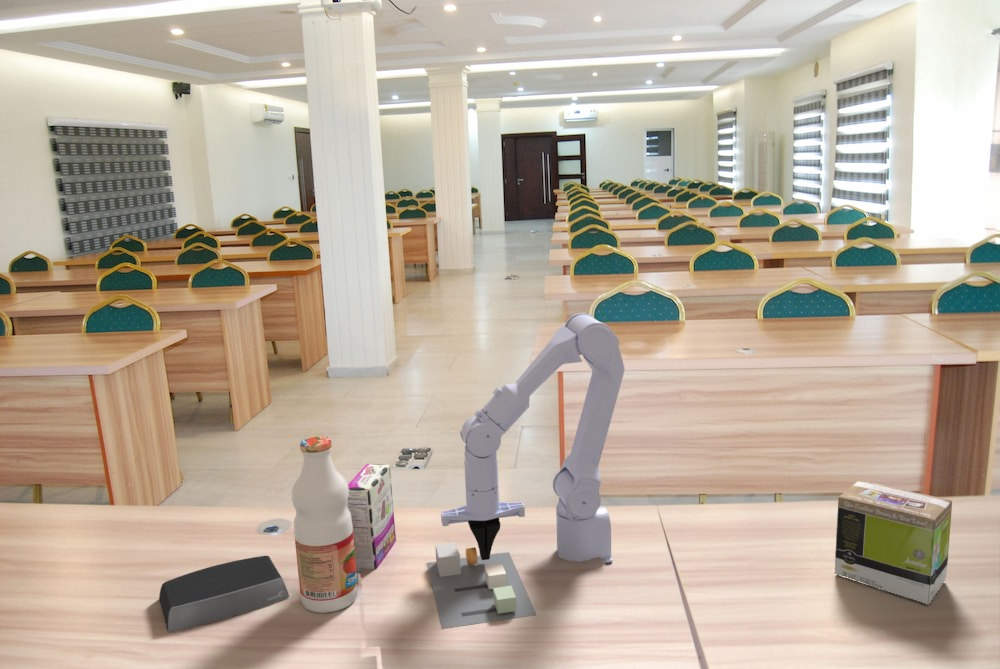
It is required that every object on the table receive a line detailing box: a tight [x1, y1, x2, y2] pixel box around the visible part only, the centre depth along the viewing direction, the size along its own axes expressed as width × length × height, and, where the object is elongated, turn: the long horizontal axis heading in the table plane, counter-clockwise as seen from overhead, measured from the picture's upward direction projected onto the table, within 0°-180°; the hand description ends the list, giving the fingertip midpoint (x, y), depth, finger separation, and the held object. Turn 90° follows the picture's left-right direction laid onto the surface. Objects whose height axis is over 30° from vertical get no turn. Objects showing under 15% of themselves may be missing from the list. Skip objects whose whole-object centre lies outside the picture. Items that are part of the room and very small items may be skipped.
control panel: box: [426, 541, 538, 630], centre depth 135 cm, size 15×21×5 cm
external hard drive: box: [158, 555, 290, 633], centre depth 136 cm, size 13×19×4 cm
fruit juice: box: [291, 435, 359, 614], centre depth 132 cm, size 9×9×28 cm
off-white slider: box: [485, 563, 507, 589], centre depth 136 cm, size 3×4×2 cm
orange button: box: [465, 546, 478, 565], centre depth 142 cm, size 2×3×3 cm, turn 11°
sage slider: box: [493, 586, 517, 614], centre depth 128 cm, size 3×4×2 cm
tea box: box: [834, 479, 953, 605], centre depth 134 cm, size 15×10×15 cm, turn 47°
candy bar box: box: [347, 463, 397, 573], centre depth 146 cm, size 11×5×16 cm, turn 168°
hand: (484, 557), depth 143 cm, fingers closed
